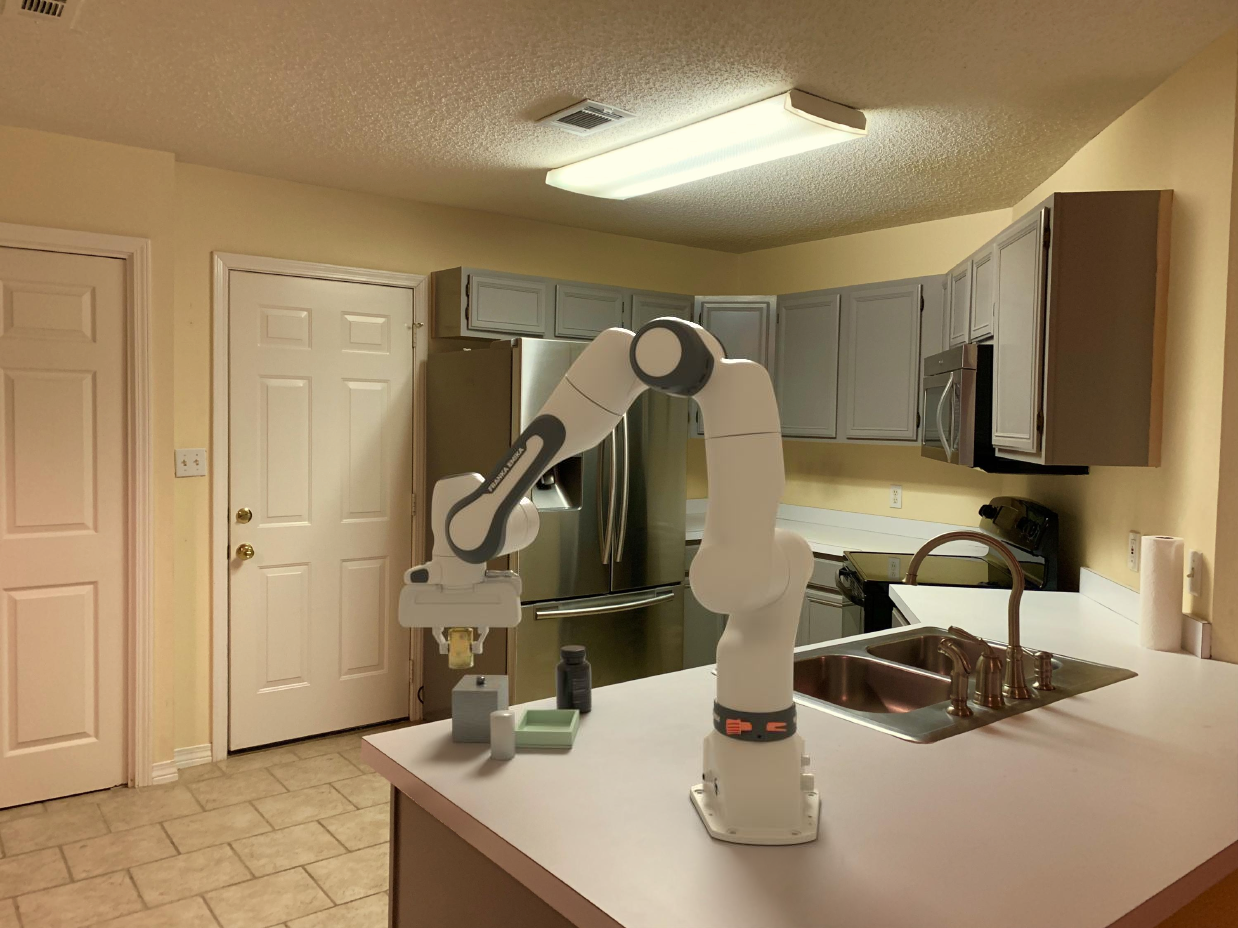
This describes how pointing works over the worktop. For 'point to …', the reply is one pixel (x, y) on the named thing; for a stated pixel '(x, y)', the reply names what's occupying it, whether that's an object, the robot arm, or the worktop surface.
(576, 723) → the tray
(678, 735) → the worktop surface
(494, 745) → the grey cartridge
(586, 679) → the supplement bottle
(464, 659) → the brass fitting
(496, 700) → the box
